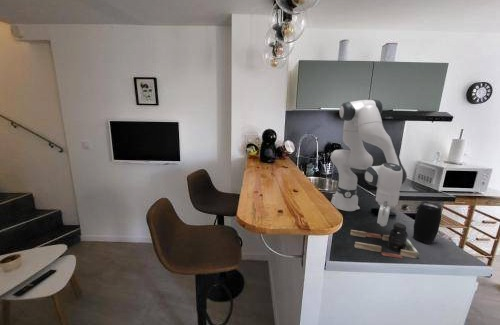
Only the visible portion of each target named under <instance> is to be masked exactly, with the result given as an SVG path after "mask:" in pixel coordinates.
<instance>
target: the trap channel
mask: <svg viewBox="0 0 500 325" xmlns="http://www.w3.org/2000/svg"><path fill="white" fill-rule="evenodd" d="M350 236H354V237H360V238H366V237H368V238H375V239H380V240H382V241H386V242H388V240H389V234H382V236H381V234H380V233H373V232H366V231H363V230H355V229H350ZM353 245H354V246H353V247H354V248H355V249H359V250H365V251H372V252H378V253H381V255H382V256H385V257H390V258H396V259H401V260H403V259H404V258H403V257H405V258H412V259H419V258H420V252H419V251H418V250H417V249H416V247H415V246H414V244H412V242H411V241H410V239H409V238H408V237H407V241H406V248H407V250H406V249H405V250H402V249H401V251H400V252H399V254H397V253H391V252H385V251H382V245H378V244H371V243H366V242H365V243H364V242H359V241H355V242H354V244H353Z"/></svg>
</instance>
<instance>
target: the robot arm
mask: <svg viewBox="0 0 500 325" xmlns="http://www.w3.org/2000/svg"><path fill="white" fill-rule="evenodd" d="M383 109H384V108H383V104H382V102H381V101H380V100H379V99H361V100H353V101H346V102H343V103H342V104H341V105H340V107H339V117H340V119H341V120H343V121H344V122H343V127H342V128H343V129H342V142H343V144H344V145H345V146H347V147H348V148H349V149H350V150H348V149H335V150H333V151H332V153H331V154H330V161H331V163H332V164H333V165H334V166H335V168H336V169H337V171H338V172H337V173H338V184H337V187H336V191H335V193H332V197H331V200H330V203H332V204H333V205H334V206H335V207H334V206H333V207H334V208H336V209H338V210H342V211H345V212H355V211H356V210H360V209H361V208H360V207H361V206H359V205H358V204H359V197H358V195H357V191H358V189H357V187H358V180H359V179H358V176H357V175H356V174H355V173H354V172H353V171H352V169H356V170H365V171H364V175H363V176H364V180H365V182H366V183H367V184H368V185H370V186H373V187H376V194H375V201H376V202H377V204H378V205H379V209H378V215H377V221H376V223H377V224H379V225H380V227H386V226H387V225H388V220H389V216H390V212H391V209H393V208H394V207H395V206H398V204H399V200H400V195H401V194H400V189H401V187H402V185H403V184H404V183H405V182H406V180H407V177H408V175H407V171H406V169H405V168H404V165H403V164H402V162H401V159H400V156H399V154H398V151H397V146H396V144H395V142H394V139H393V138H392V136H391V135H389V134H388V133H387V131H386V130H385V127H384V124H383V120H382V116H381V114H382V113H383ZM364 142H365V143H367V144H369V145H372V146H376V147H378V148H379V149H380V150H381V151H382V152H383V155H384V157H385V160H386V162H384V163H382V164H381V165H373V163H374V157H373V156H372V154H370V153H369V152H368V151H367V149H366V148H365V146H364Z"/></svg>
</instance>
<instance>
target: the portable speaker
mask: <svg viewBox="0 0 500 325" xmlns="http://www.w3.org/2000/svg"><path fill="white" fill-rule="evenodd" d="M441 219H442V205H440V204H438V203H432V202H431V201H430V202H428V201H426V200H422V201H421V202H420V204H419V205H418V209H417V210H416V213H415V219H414V223H413V238H414V239H415V240H416V241H417V240H418V241H420V242H423V243H424V244H426V245H431V244H433V243H434V241H435V240H436V237H437V234H438V232H439V229H440V224H441V221H442V220H441Z"/></svg>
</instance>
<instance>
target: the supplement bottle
mask: <svg viewBox="0 0 500 325" xmlns="http://www.w3.org/2000/svg"><path fill="white" fill-rule="evenodd" d="M388 235H389V240H388V241H387V247H388V248H389V249H390V250H392V251H395V252H398V253H400V251H401V249H402V250H406V248H407V246H406V241H407V238H408V235H409V234H408V232H407V226H406V225H405V224H404V223H400V222H394V223H393V226H392V227H391V228H390V230H389V234H388Z"/></svg>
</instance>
